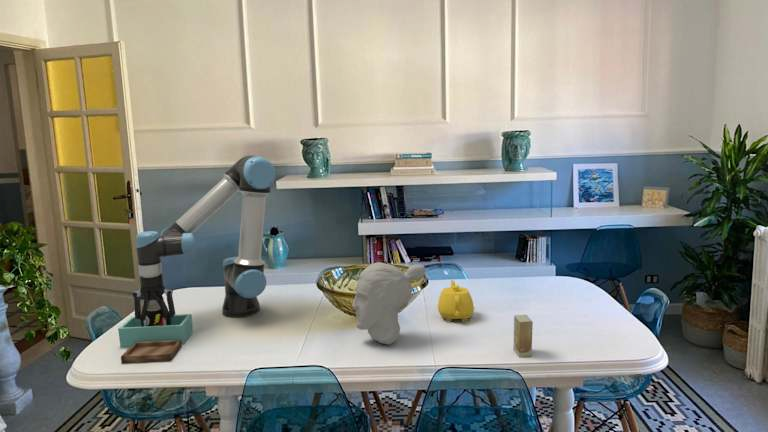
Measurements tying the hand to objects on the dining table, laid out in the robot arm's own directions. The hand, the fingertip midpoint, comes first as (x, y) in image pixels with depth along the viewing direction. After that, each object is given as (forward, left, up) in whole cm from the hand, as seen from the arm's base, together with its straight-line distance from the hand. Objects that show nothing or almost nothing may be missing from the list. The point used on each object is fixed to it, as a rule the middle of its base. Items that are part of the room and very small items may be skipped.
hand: (157, 335), depth 205 cm
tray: (-3, +14, -1) cm, 14 cm away
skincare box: (-127, +28, -2) cm, 130 cm away
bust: (-85, +11, -2) cm, 85 cm away
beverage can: (0, 0, -2) cm, 2 cm away
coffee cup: (+7, -14, -2) cm, 16 cm away
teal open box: (0, 0, -1) cm, 1 cm away
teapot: (-111, -9, -2) cm, 112 cm away
